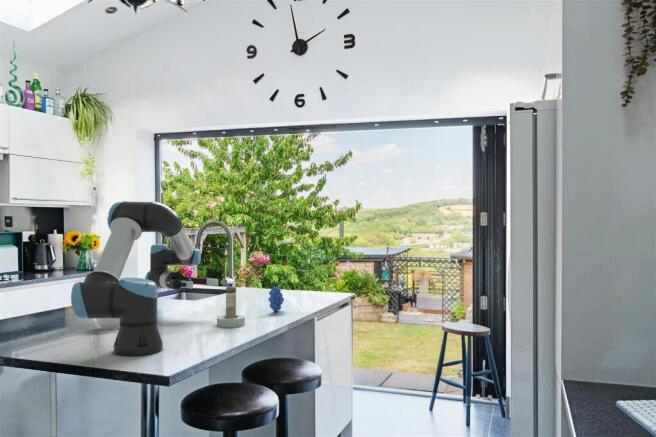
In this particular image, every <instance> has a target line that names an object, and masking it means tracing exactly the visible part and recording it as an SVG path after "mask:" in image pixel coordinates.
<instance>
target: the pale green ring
mask: <svg viewBox="0 0 656 437" xmlns="http://www.w3.org/2000/svg"><path fill="white" fill-rule="evenodd" d="M245 324H246V316H245V315H242V314H236V318H226V314H223V315H219V316H217V317H216V326H218V327H221V328H237V327H242V326H245Z"/></svg>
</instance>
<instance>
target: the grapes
mask: <svg viewBox="0 0 656 437" xmlns="http://www.w3.org/2000/svg"><path fill="white" fill-rule="evenodd" d="M281 291H282V290H281V289H280V287H278V286H276V285H273V286H272V288H271V290H270V291H269V292H268V294H269V297H268V302H269V308H270V309H271V310H272V311H273V312H274V313H277V312H278V311H280V310H281V309H282V306H281V305H283V304H284V301H285V298H284V297H283V296H284V294H283V293H282V292H281Z"/></svg>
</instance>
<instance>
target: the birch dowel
mask: <svg viewBox="0 0 656 437" xmlns="http://www.w3.org/2000/svg"><path fill="white" fill-rule="evenodd" d="M225 315H226V318H236V315H237V287H236V286H226V287H225Z"/></svg>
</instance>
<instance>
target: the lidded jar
mask: <svg viewBox="0 0 656 437" xmlns="http://www.w3.org/2000/svg"><path fill="white" fill-rule="evenodd" d="M95 320H96V324H98V326H99V327H100V328H101V329H102V330H116V329H119V328H120V320H119V318H95Z"/></svg>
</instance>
